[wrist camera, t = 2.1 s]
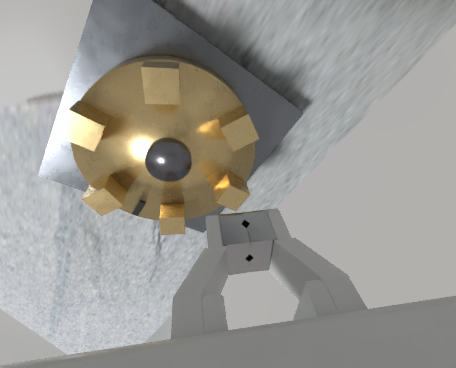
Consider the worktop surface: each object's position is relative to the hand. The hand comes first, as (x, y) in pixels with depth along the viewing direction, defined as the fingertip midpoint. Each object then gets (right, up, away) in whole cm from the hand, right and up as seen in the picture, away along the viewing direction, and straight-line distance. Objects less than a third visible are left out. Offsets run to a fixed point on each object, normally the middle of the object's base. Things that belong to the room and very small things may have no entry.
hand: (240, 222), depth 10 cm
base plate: (-8, +8, +22) cm, 25 cm away
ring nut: (-8, +6, +20) cm, 22 cm away
